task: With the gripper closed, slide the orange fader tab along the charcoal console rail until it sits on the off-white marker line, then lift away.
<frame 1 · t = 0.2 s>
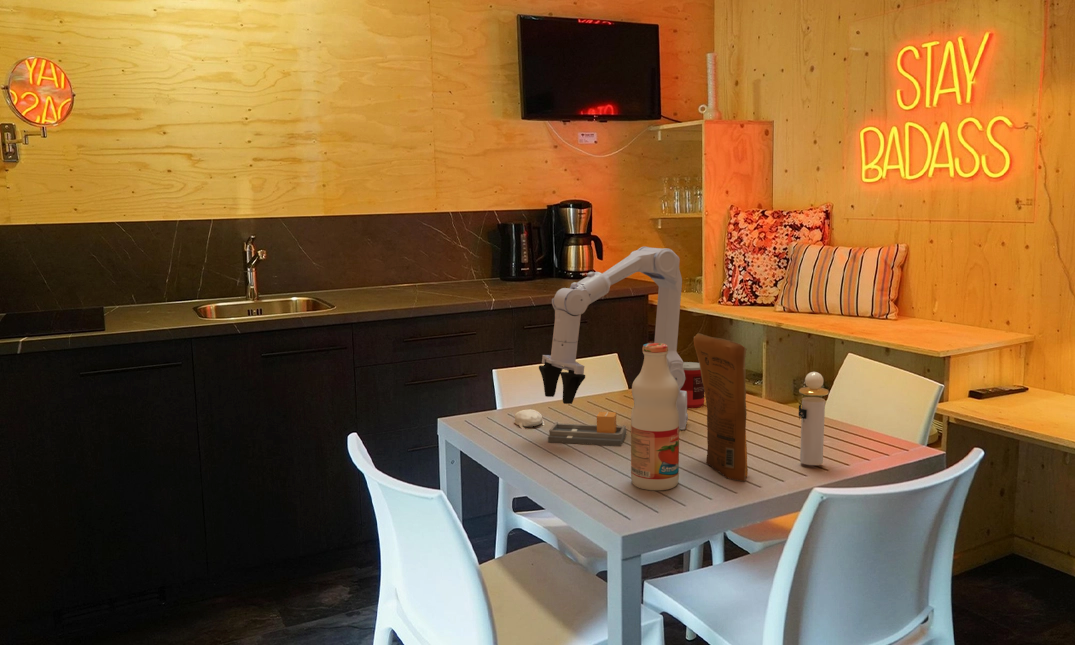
hand: (558, 399, 192), 11 cm above the table, tool pointing down, fingers open, 7 cm apart
perfume bottle: (811, 466, 176), on the table
pancake mix bag: (722, 470, 175), on the table
fruit juice: (654, 484, 167), on the table
fader tab: (606, 423, 197), point 4 cm above the table, slide at -4.0 cm
fader console: (589, 437, 198), on the table
canned food: (689, 405, 227), on the table
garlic: (529, 426, 211), on the table
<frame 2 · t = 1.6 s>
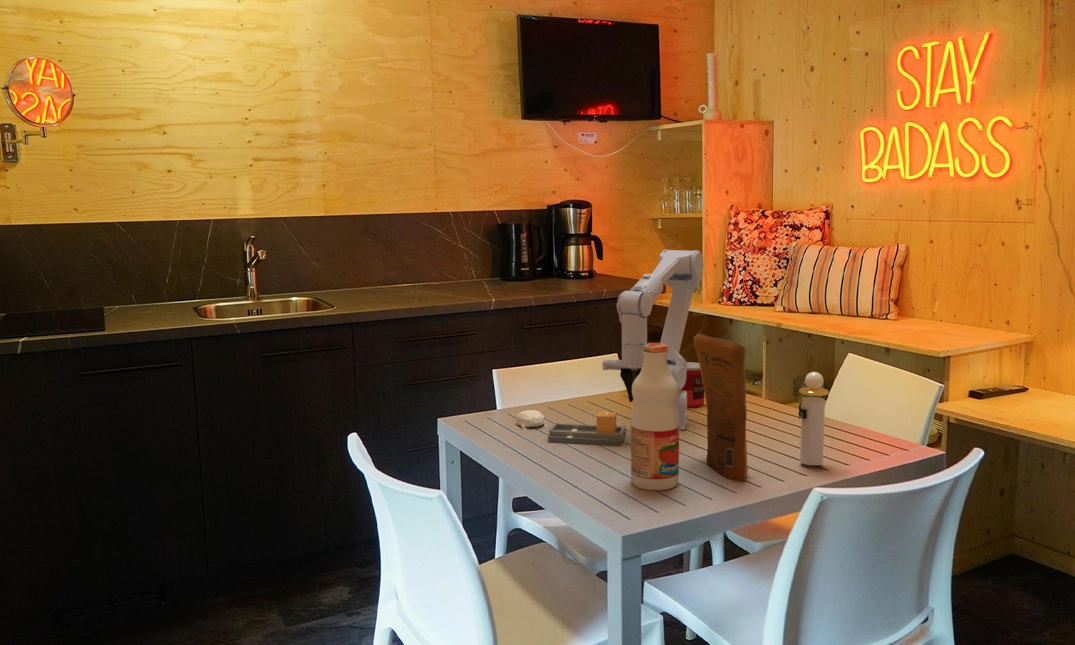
hand: (634, 401, 194), 9 cm above the table, tool pointing down, fingers closed
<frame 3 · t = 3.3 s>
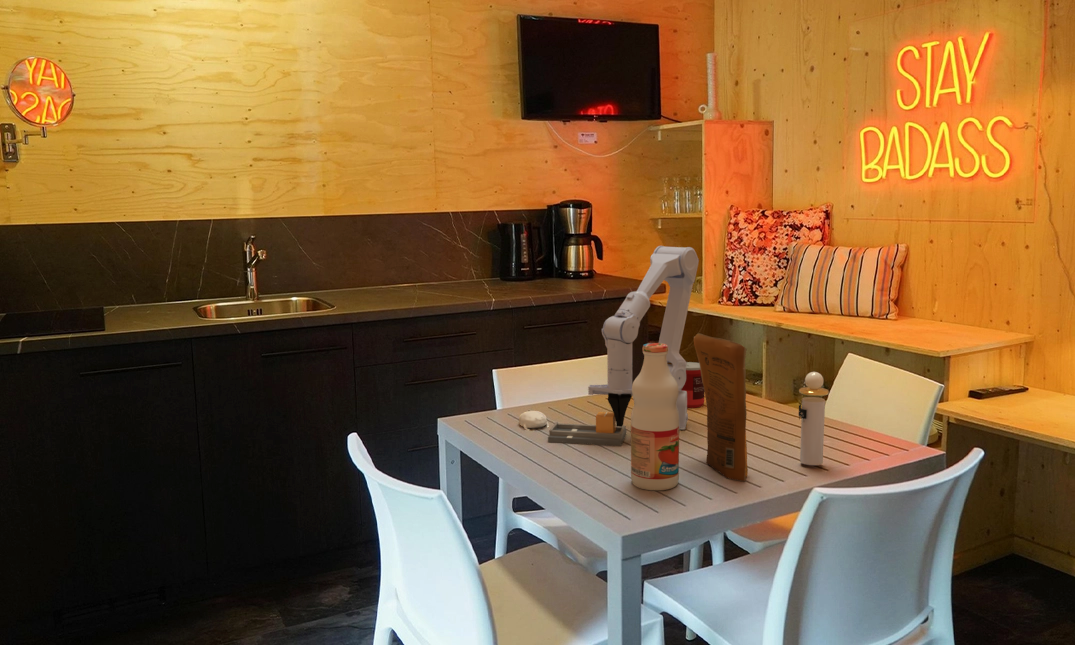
hand: (620, 425, 196), 3 cm above the table, tool pointing down, fingers closed
fader tab: (605, 423, 197), point 4 cm above the table, slide at -3.8 cm, touching gripper
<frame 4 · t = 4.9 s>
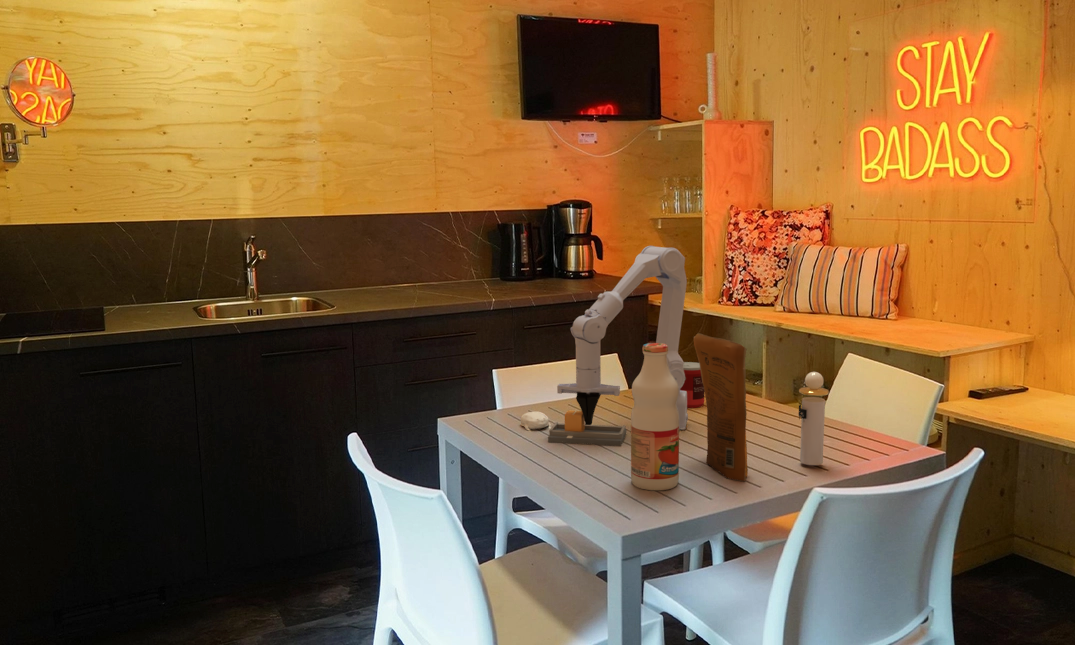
hand: (588, 423, 198), 3 cm above the table, tool pointing down, fingers closed
fader tab: (574, 421, 199), point 4 cm above the table, slide at 3.6 cm, touching gripper
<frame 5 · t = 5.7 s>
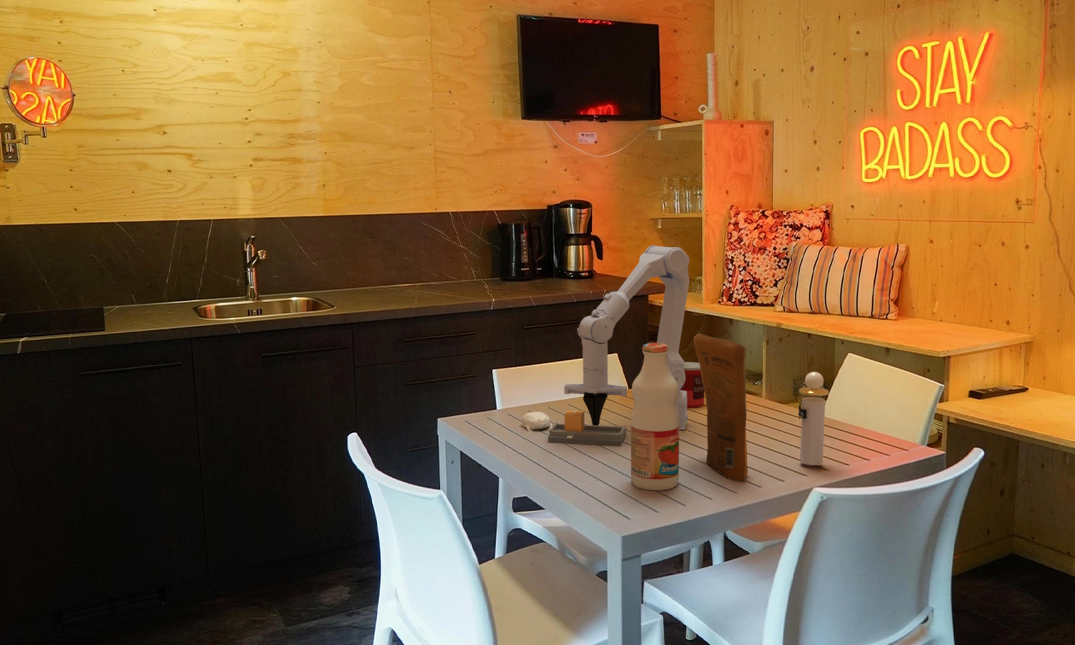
hand: (595, 424, 198), 3 cm above the table, tool pointing down, fingers closed
fader tab: (574, 421, 199), point 4 cm above the table, slide at 3.7 cm
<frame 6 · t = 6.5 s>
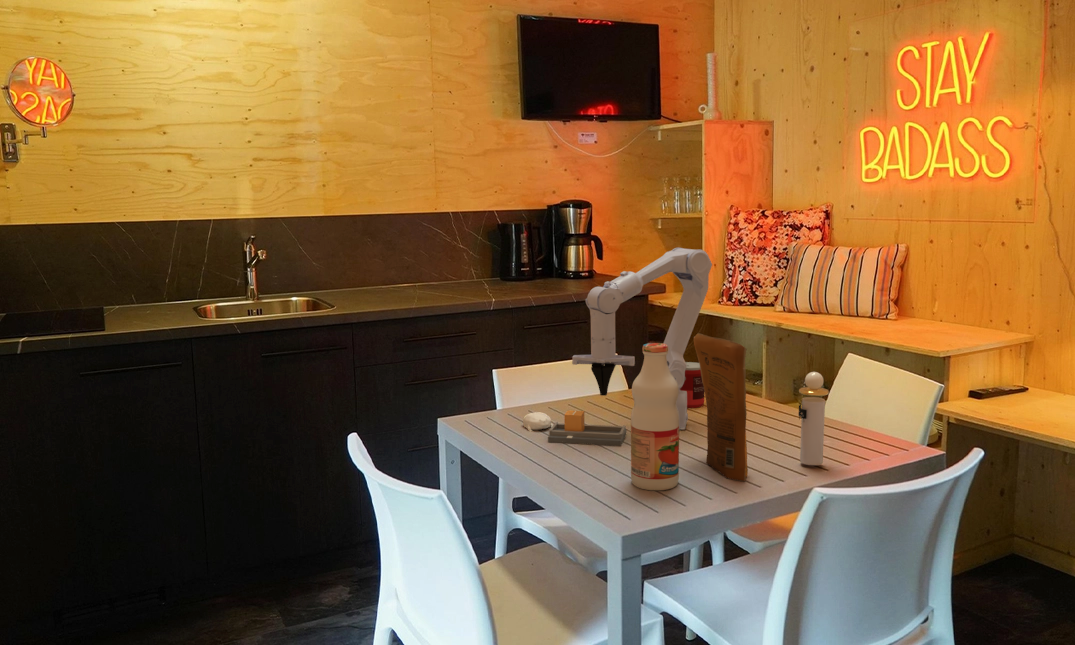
hand: (603, 394, 199), 10 cm above the table, tool pointing down, fingers closed
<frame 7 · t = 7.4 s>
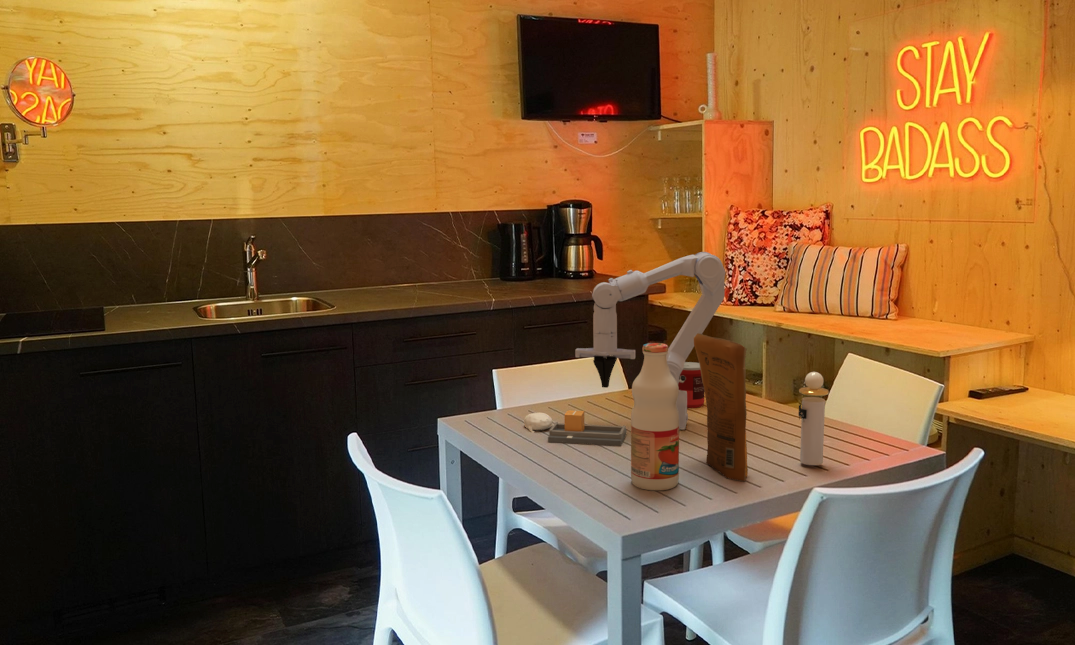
hand: (605, 386, 207), 10 cm above the table, tool pointing down, fingers closed
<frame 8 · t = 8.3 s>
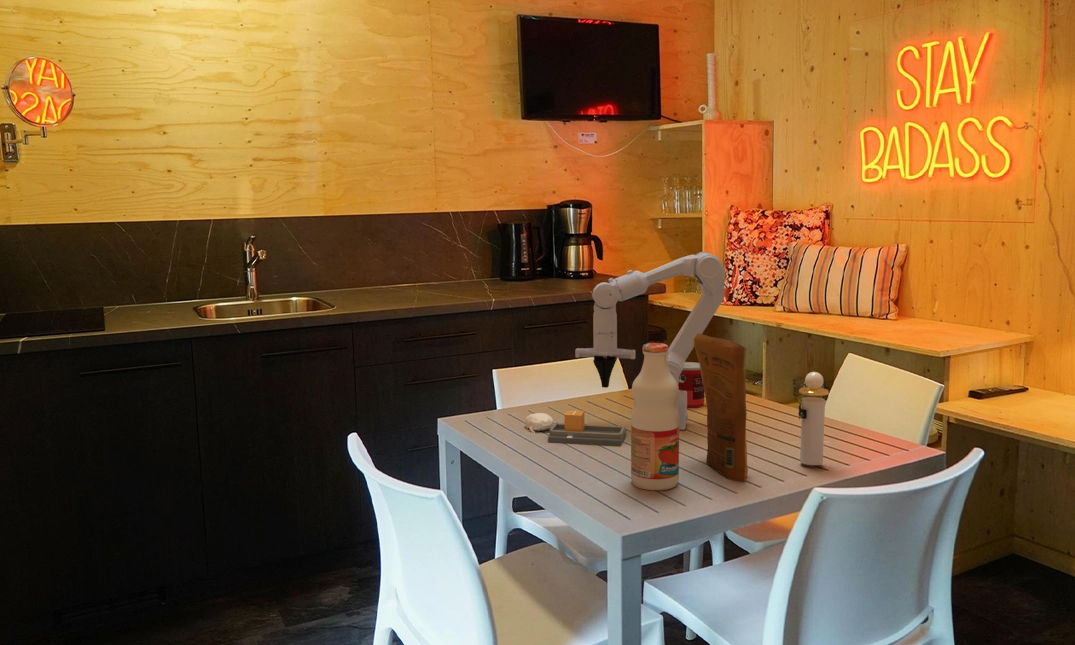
hand: (605, 386, 207), 10 cm above the table, tool pointing down, fingers closed
at the end: fader tab slide at 3.7 cm; fader tab touching nothing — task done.
